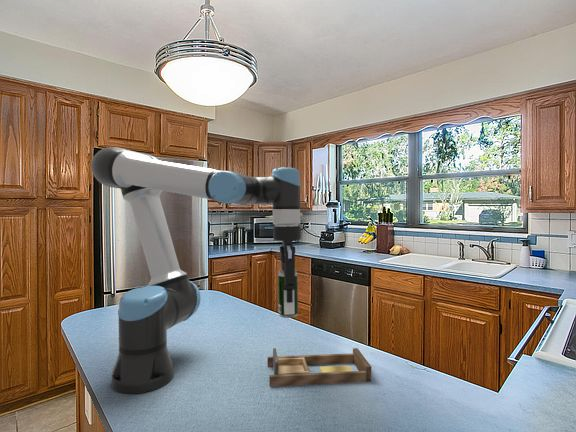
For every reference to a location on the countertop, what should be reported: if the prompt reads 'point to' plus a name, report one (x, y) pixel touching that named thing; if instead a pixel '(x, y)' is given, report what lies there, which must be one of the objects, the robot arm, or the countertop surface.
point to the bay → (325, 370)
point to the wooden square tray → (288, 365)
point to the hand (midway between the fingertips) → (288, 310)
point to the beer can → (281, 295)
